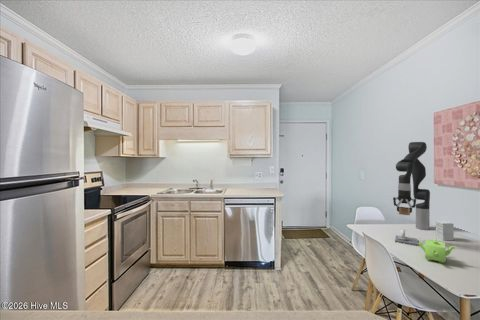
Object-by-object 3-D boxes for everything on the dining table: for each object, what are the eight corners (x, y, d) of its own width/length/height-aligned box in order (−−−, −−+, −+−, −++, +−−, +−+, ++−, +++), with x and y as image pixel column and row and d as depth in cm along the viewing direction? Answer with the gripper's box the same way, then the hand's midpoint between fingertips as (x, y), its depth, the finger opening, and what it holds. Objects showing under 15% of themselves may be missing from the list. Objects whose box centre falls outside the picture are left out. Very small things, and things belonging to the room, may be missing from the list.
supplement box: (446, 237, 178) (446, 220, 177) (453, 240, 170) (454, 223, 170) (435, 236, 178) (435, 220, 178) (442, 240, 171) (442, 223, 171)
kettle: (434, 253, 149) (435, 236, 149) (458, 264, 135) (458, 244, 135) (413, 255, 147) (413, 237, 147) (435, 266, 133) (435, 246, 133)
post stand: (395, 236, 180) (395, 226, 179) (417, 240, 172) (417, 229, 172) (395, 242, 169) (395, 230, 169) (417, 246, 162) (417, 234, 161)
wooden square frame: (399, 212, 176) (399, 206, 176) (409, 213, 172) (409, 207, 172) (398, 214, 171) (399, 208, 171) (409, 215, 167) (409, 209, 167)
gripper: (416, 189, 170) (416, 212, 170) (392, 188, 179) (392, 210, 179) (417, 190, 164) (416, 214, 164) (392, 189, 173) (392, 212, 173)
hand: (404, 212), depth 171 cm, fingers closed on wooden square frame, 6 cm apart
